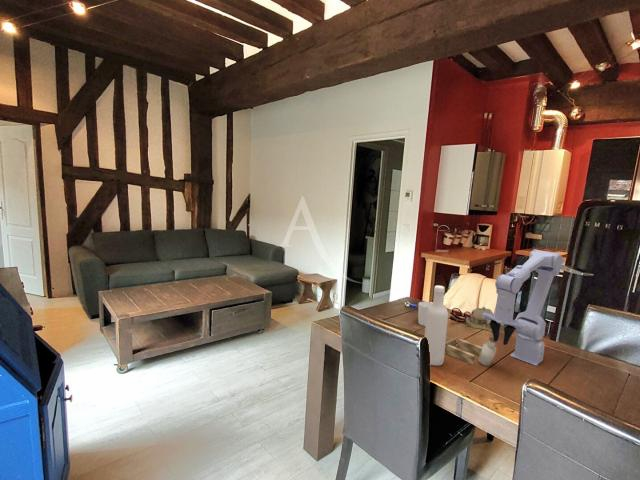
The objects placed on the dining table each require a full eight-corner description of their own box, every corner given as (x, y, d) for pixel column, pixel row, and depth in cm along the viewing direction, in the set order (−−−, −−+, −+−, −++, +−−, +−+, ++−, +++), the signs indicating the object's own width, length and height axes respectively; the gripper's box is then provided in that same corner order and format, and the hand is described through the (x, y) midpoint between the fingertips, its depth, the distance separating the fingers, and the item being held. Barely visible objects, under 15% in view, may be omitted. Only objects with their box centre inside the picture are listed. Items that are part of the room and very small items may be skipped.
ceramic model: (493, 323, 168) (495, 304, 167) (500, 332, 158) (502, 312, 156) (464, 320, 171) (465, 302, 170) (468, 329, 160) (470, 309, 159)
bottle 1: (445, 367, 124) (452, 290, 120) (423, 364, 126) (430, 288, 121) (441, 357, 132) (448, 284, 127) (421, 354, 134) (427, 282, 129)
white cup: (413, 321, 167) (415, 302, 166) (425, 319, 171) (427, 301, 169) (424, 327, 160) (426, 308, 159) (436, 325, 163) (438, 306, 162)
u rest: (485, 356, 133) (486, 348, 133) (472, 364, 127) (473, 356, 126) (452, 343, 144) (453, 336, 144) (439, 350, 137) (440, 342, 137)
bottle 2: (492, 363, 128) (501, 340, 125) (487, 367, 125) (496, 344, 122) (481, 356, 131) (489, 334, 128) (476, 360, 129) (484, 337, 125)
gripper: (480, 303, 124) (476, 338, 126) (522, 316, 113) (517, 353, 115) (488, 300, 128) (484, 333, 131) (530, 311, 117) (525, 347, 119)
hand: (500, 342), depth 123 cm, fingers open, 3 cm apart
